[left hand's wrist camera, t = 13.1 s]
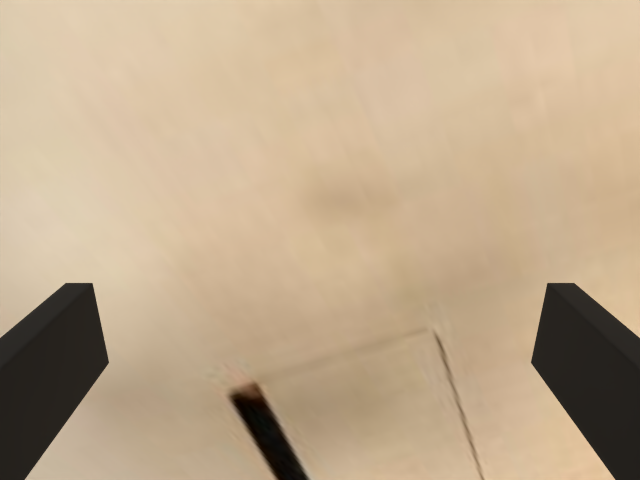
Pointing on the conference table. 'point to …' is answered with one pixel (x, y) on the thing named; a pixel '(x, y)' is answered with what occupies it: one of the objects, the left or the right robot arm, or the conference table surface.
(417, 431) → the conference table surface
